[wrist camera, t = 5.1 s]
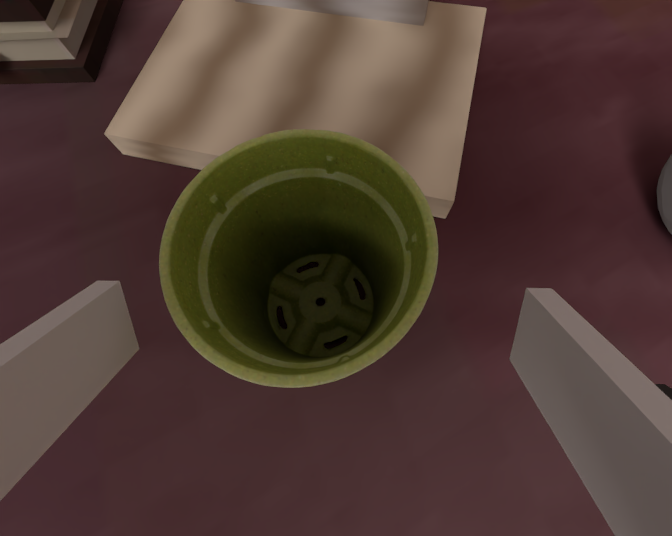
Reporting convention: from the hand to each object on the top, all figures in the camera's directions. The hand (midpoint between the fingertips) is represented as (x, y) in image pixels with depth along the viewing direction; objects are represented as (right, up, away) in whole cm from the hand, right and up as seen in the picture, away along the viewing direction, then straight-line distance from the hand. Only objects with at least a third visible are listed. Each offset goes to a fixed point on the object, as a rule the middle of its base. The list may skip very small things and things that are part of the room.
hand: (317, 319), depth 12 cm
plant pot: (0, 0, +8) cm, 8 cm away
